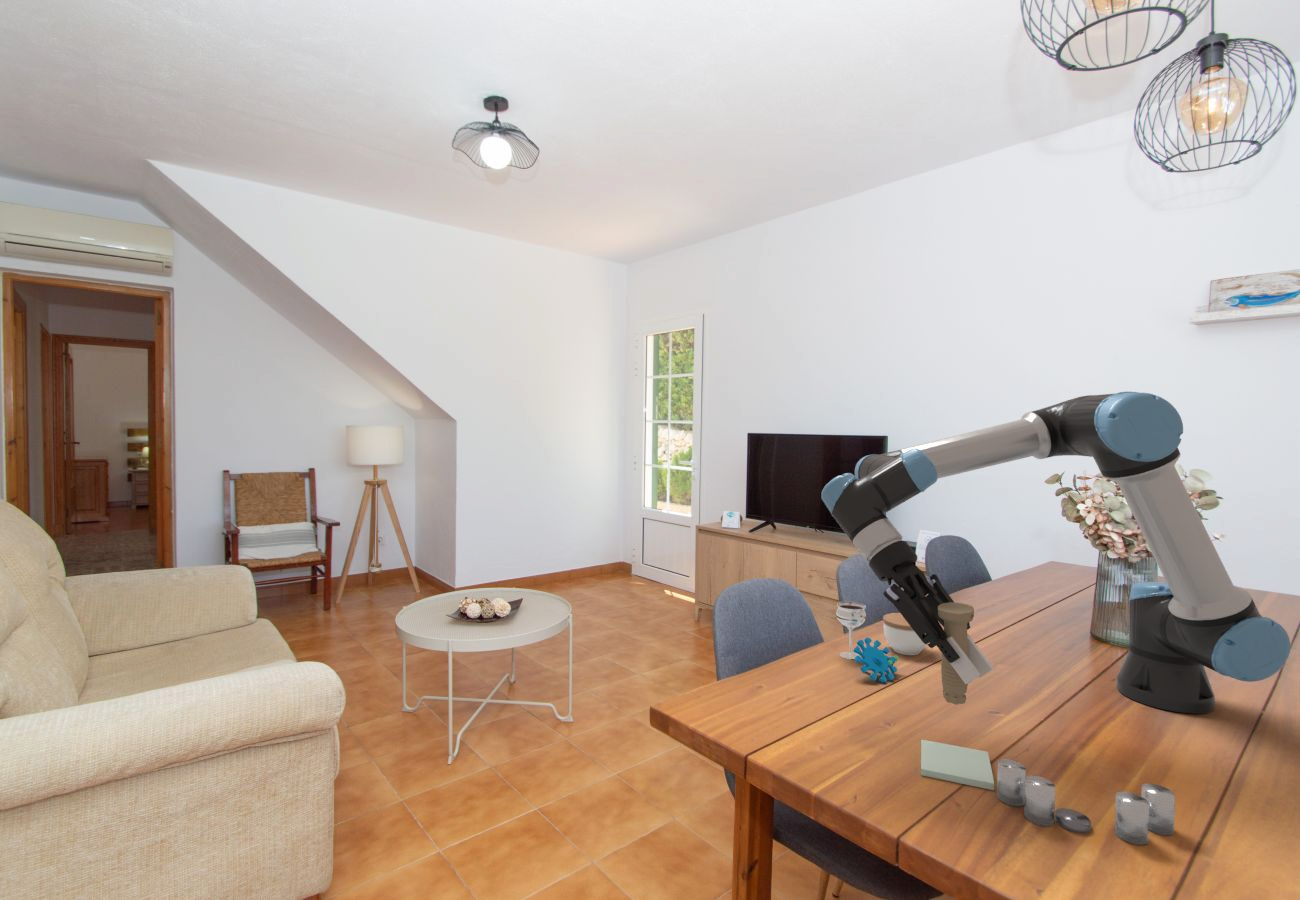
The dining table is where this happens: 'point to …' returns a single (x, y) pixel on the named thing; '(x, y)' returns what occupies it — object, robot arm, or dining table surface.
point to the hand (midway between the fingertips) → (979, 676)
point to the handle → (957, 628)
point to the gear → (875, 660)
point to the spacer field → (1130, 809)
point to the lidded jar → (901, 635)
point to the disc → (1072, 820)
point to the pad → (956, 764)
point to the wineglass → (850, 621)
